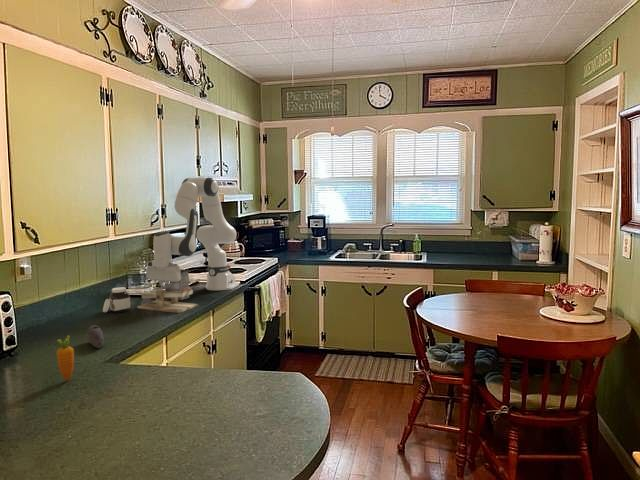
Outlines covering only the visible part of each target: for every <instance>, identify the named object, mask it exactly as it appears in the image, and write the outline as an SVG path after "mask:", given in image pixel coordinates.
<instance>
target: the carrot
mask: <svg viewBox="0 0 640 480" xmlns="http://www.w3.org/2000/svg"><path fill="white" fill-rule="evenodd" d="M56 342H57V343H58V344H59V345H60V347H59V348H58V349H57V350H56V358H57V359H56V360H57V365H58V370H59V372H60V374H61V376H62V377H63V379H64V380H65V381H66V382H69V380H70V379H71V377H72V375H73V372H74V367H75V350H74V347H72V346H70V345H69V343H70V335H67V336H66V338H65V340H64V341H63V340H62V339H60V338H58V339H57V340H56ZM68 345H69V346H68Z"/></svg>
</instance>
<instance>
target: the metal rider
mask: <svg viewBox="0 0 640 480" xmlns="http://www.w3.org/2000/svg"><path fill="white" fill-rule="evenodd" d="M164 285H165V289H164V290H165V291H166V292H168V291H180V287H179V283H170V282H169V283H168V284H165V283H164Z"/></svg>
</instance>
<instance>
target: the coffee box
mask: <svg viewBox="0 0 640 480" xmlns="http://www.w3.org/2000/svg"><path fill="white" fill-rule="evenodd" d="M180 273H181V280H180V281H178V282H172V281H169V283H179V287H180V289H183V288H186V287H190V282H189V280H190V279H189V275H190V274H189V270H188V269H181V268H180ZM169 298H170V299H171V297H169ZM189 298H190V295H187V296H184V297H178V301H179V300H180V301H183V300H186V299H189Z"/></svg>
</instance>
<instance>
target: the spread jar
mask: <svg viewBox="0 0 640 480" xmlns="http://www.w3.org/2000/svg"><path fill="white" fill-rule="evenodd" d="M109 308H110V309H109ZM130 308H131V296H130V294H129V292H128V291H127V287H124V286H123V287H122V286H120V287H113V288H111V293H110V295H109V298H106V299H105V300H104V304H103V307H102V312H103V313H108V311H109V310H111V311H112V313H118V314H120V313H125V312H127V311H128V310H129V309H130Z"/></svg>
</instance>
